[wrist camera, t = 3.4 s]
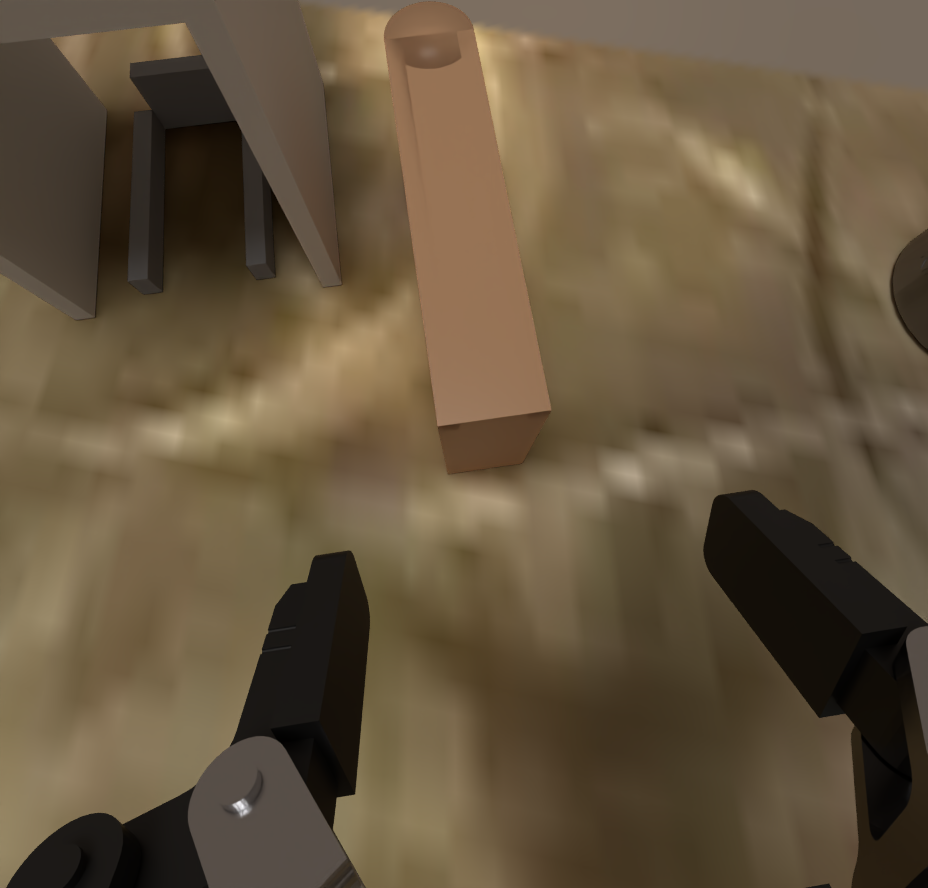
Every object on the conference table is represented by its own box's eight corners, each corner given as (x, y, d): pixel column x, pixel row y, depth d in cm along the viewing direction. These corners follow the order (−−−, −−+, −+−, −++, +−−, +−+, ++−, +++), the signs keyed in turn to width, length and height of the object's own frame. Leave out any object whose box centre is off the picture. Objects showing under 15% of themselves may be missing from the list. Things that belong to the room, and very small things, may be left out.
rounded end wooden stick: (405, 168, 27) (379, 6, 19) (467, 160, 27) (467, -3, 19) (447, 474, 22) (437, 426, 14) (522, 463, 22) (551, 410, 15)
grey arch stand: (323, 84, 28) (190, -360, 15) (341, 284, 25) (190, -53, 11) (90, 111, 28) (-269, -319, 14) (75, 320, 24) (-417, 14, 11)
